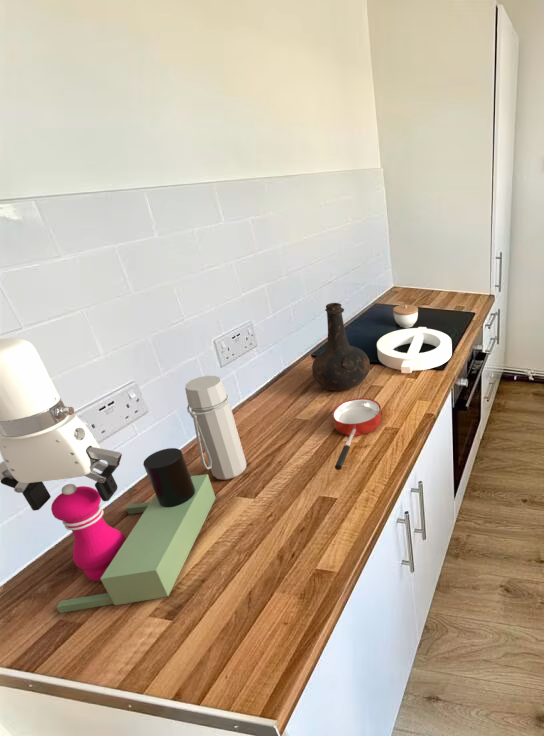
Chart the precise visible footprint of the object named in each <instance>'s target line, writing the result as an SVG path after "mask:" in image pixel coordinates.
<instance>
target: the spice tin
mask: <svg viewBox="0 0 544 736" xmlns="http://www.w3.org/2000/svg"><path fill="white" fill-rule="evenodd" d="M142 464H143V467H144V470H145V472H146V475H147V477H148V480H149V482H150V484H151V486H152V489H153V492H154V495H155V494H156V496H157V499H158V501H159V504H160V505H161V506H163V507H174V506H178V505H181V504H183V503H185V502H186V501H188V500H189V499H191V498H192V497H193V495H194V494H195V488H194V485H193V482H192V479H191V477H190V476H191V473H190V471H189V468H188V465H187V463H186V460H185V458H184V455H183V452H182V450H181V449H179V448H176V447H170V448H169V447H168V448H164V449H160V450H158V451H155V452H153V453H151V454H150V455H148V456H147V457H146V458H145V459H144V461H143V463H142Z"/></svg>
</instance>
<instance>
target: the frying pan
mask: <svg viewBox="0 0 544 736" xmlns="http://www.w3.org/2000/svg"><path fill="white" fill-rule="evenodd" d="M332 420H333V427H334V429H335V430H336V431H337V432H338V433H340V434H341V435H345V436H348V438H347V440H346V443H345V445H343V447H342V450H341V452H340V454H339V456H338V458H337V461H336V463H335V465H334V469H335V470H336V471H340V470H342V468H343V466H344V464H345V460H346V458H347V456H348V454H349V451H350V448H351V447H350V446H351V443H352V442H353V439H354V437H355V436H356V437H357V436H363V435H366V434H368V433H371V432H373V431H375V430H376V429H378V427H379V426H380V425H381V423H382V421H383V418H382V408H381V404H380V403H379V402H378V401H376V400H374V399H371V398H366V397H361V398H352V399H348V400H345V401H343V402H341V403H340V404H338V405H337V406H335V408H334V409H333V411H332Z"/></svg>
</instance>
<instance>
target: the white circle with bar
mask: <svg viewBox="0 0 544 736" xmlns="http://www.w3.org/2000/svg"><path fill="white" fill-rule="evenodd" d="M408 344H409V345H410V346H409V348H408V350H407V352H401V351H398V350H395V349H396V348H398V347H401V346H404V345H408ZM423 344H426V345H427V344H428V345H431V346H434V347H435V348H433V349H431V350H427V351H425V352H420V350H421V348H422V346H423ZM452 345H453V341H452V338H451V337H450V336H449V335H448V334H446V333H444V332H442V331H441V330H437V329H432V328H428V327H426V326H418V327H408V328H403V329H397V330H394V331H391V332H388V333H386V334H384V335H383V336H381V337H380V338H379V339H378V340H377V342H376V349H377V351H376V352H377V358H378V360H379V362H380V363H381V364H382V365H384V366H386V367H388V368H391V369H394V370H398V371H401V374H412V372H414V371H424V370H430V369H433V368H437V367H440V366H442V365H443V364H445V363H447V362H448V361H449V360H450V359H451V357H452V354H453V346H452Z"/></svg>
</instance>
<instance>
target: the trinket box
mask: <svg viewBox="0 0 544 736" xmlns="http://www.w3.org/2000/svg"><path fill="white" fill-rule="evenodd" d="M392 312H393V318H394V321H395V323H396V324H397V325H399V327H401V328H404V329H408V328H413V326H414V325H415V324H416V323H417V321H418V317H419V307H417V306H416V305H413V304H399V305H396V306H394V307H392Z"/></svg>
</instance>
